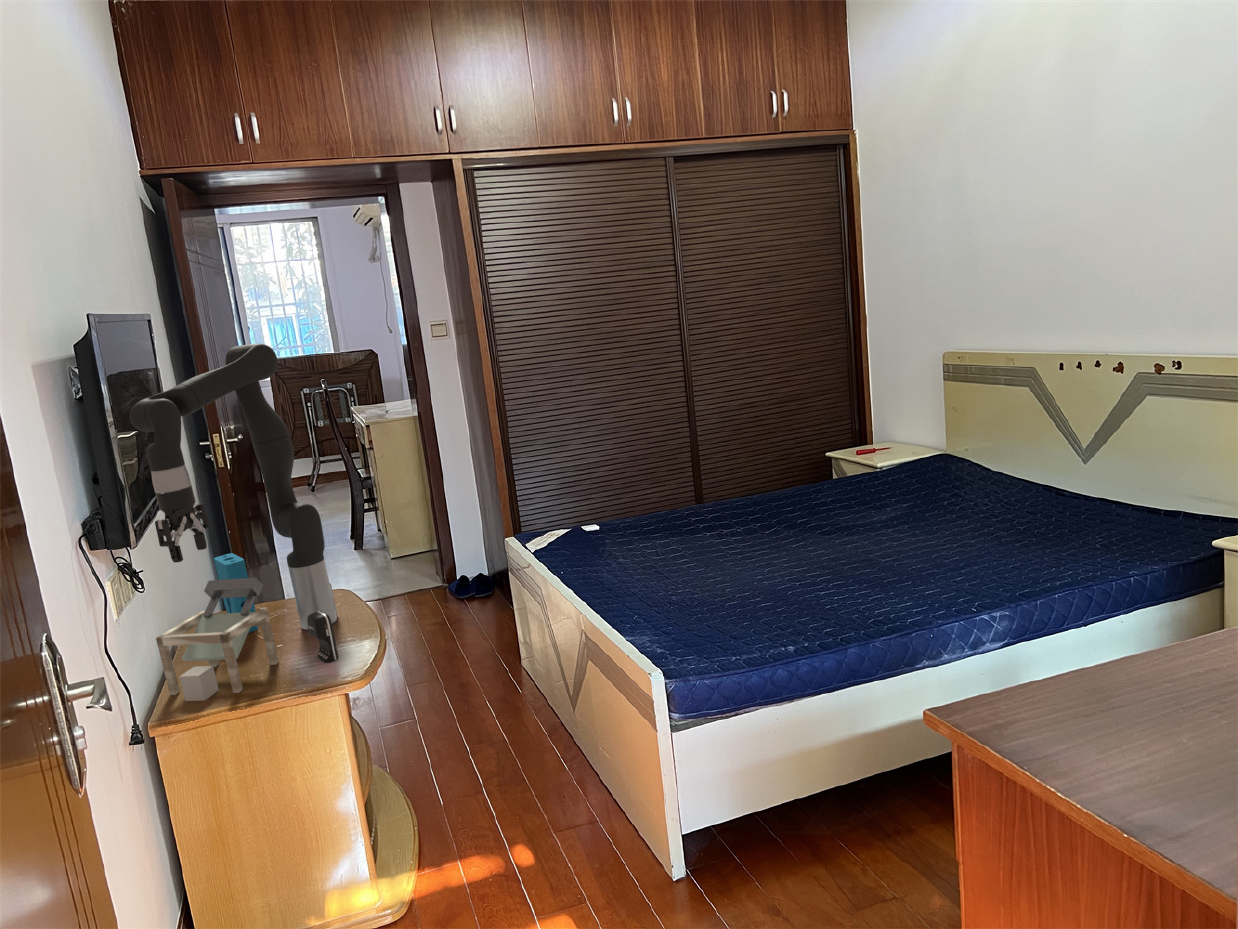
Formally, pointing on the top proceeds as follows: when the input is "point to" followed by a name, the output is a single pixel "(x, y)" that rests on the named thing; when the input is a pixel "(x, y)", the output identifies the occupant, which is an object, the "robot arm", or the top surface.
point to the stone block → (199, 683)
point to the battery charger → (323, 635)
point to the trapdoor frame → (225, 638)
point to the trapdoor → (223, 617)
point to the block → (233, 569)
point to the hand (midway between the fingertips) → (190, 555)
